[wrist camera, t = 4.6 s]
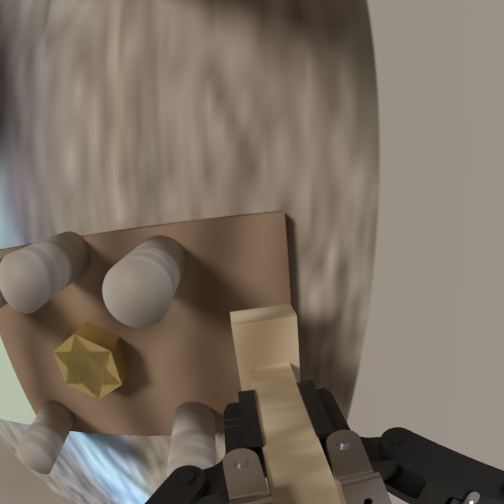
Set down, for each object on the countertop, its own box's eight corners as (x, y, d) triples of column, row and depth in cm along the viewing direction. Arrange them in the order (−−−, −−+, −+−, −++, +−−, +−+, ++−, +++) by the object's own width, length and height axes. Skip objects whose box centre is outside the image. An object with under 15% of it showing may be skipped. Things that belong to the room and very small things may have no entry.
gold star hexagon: (97, 310, 18) (86, 323, 16) (141, 360, 19) (135, 376, 17) (55, 346, 19) (44, 359, 17) (96, 389, 20) (88, 405, 18)
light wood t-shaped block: (289, 303, 16) (380, 468, 5) (296, 406, 17) (347, 555, 7) (230, 311, 15) (249, 498, 5) (246, 414, 17) (271, 571, 7)
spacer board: (280, 202, 19) (313, 213, 12) (293, 414, 23) (314, 478, 16) (-16, 246, 17) (-76, 269, 11) (46, 420, 21) (18, 470, 14)
